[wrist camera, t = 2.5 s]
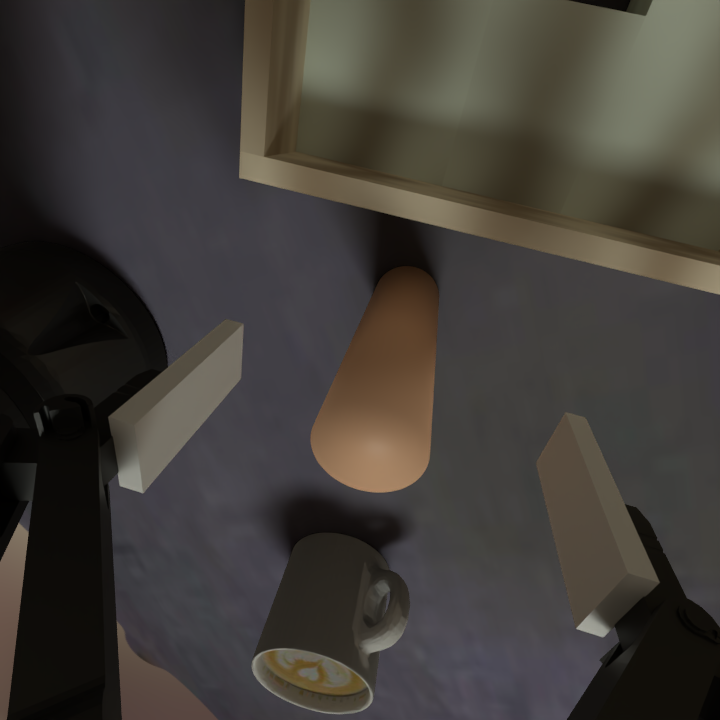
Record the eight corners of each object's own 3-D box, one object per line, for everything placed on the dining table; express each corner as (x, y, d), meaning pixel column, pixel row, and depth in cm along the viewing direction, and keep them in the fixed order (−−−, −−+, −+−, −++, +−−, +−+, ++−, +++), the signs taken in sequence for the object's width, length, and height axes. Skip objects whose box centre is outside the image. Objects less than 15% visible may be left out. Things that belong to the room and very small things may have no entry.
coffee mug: (321, 600, 44) (291, 713, 36) (274, 540, 41) (227, 651, 32) (438, 588, 39) (436, 716, 31) (397, 518, 36) (380, 642, 27)
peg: (369, 317, 27) (304, 473, 15) (382, 258, 25) (319, 385, 13) (428, 333, 26) (411, 504, 14) (447, 275, 24) (445, 419, 12)
